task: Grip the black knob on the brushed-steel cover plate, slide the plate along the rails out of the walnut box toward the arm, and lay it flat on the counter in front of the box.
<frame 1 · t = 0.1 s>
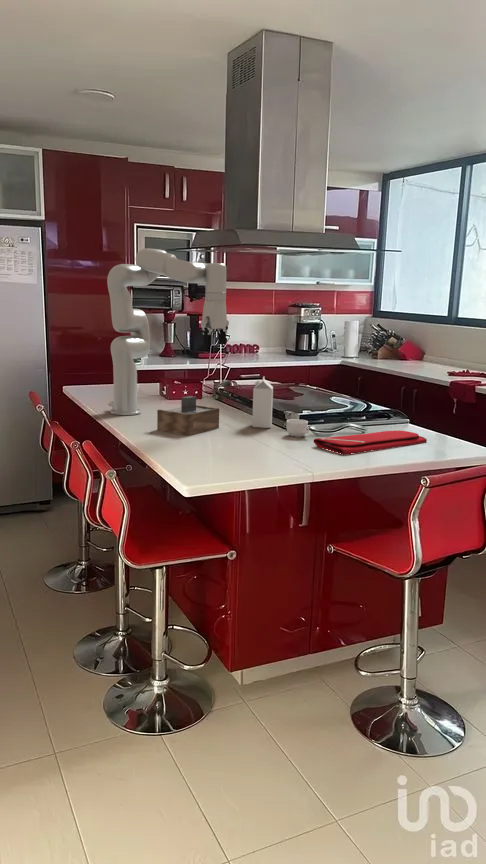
hand: (214, 344, 256), 31 cm above the worktop, tool pointing down, fingers open, 9 cm apart
teacup: (298, 436, 251), on the worktop
walnut box: (188, 428, 258), on the worktop
milk carton: (262, 426, 267), on the worktop
cover plate: (188, 413, 257), point 6 cm above the worktop, touching walnut box
dish drying mat: (371, 446, 241), on the worktop
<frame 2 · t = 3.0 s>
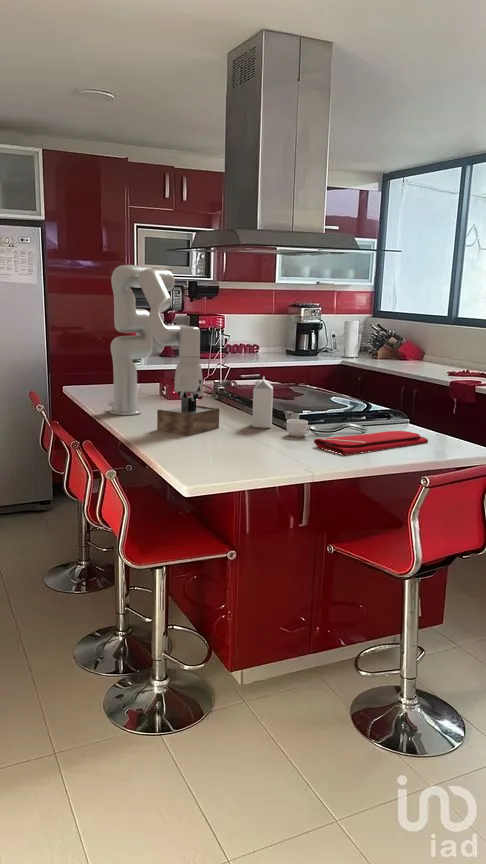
hand: (188, 409, 256), 7 cm above the worktop, tool pointing down, fingers closed on cover plate, 3 cm apart
cover plate: (188, 413, 257), point 6 cm above the worktop, touching gripper
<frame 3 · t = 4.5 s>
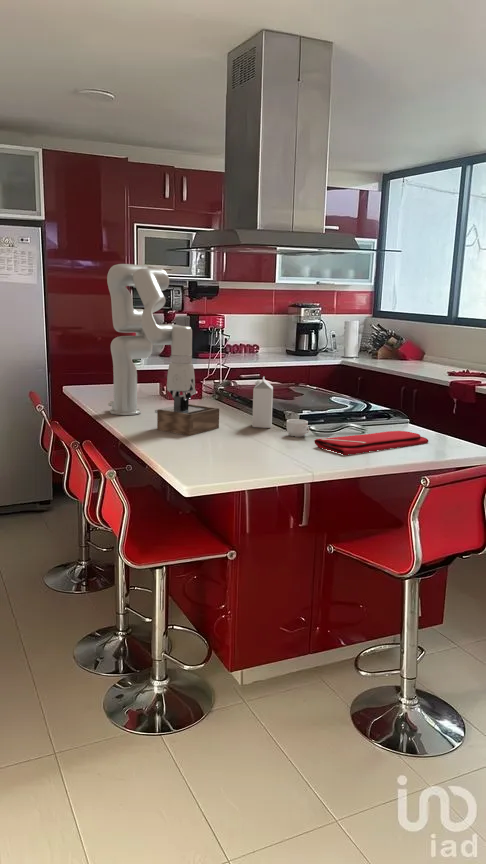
hand: (181, 408, 258), 7 cm above the worktop, tool pointing down, fingers closed on cover plate, 3 cm apart
cover plate: (181, 411, 259), point 6 cm above the worktop, touching gripper
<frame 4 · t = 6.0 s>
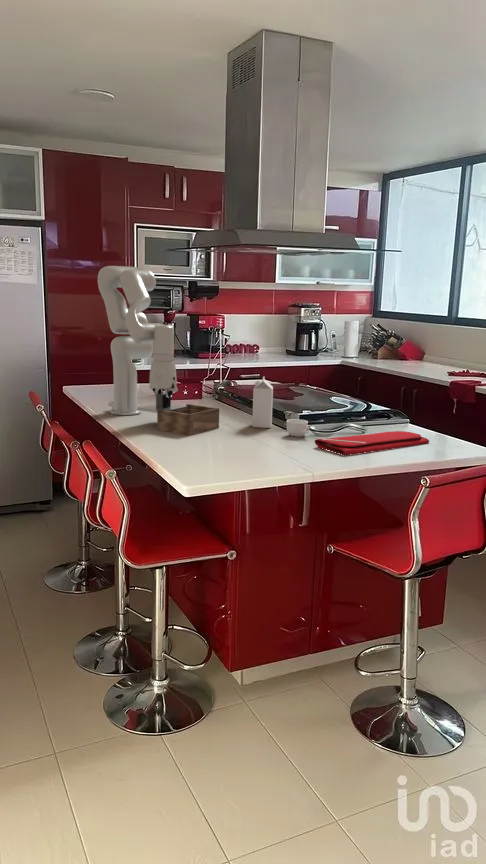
hand: (163, 406, 263), 7 cm above the worktop, tool pointing down, fingers closed on cover plate, 3 cm apart
cover plate: (163, 409, 263), point 6 cm above the worktop, touching gripper
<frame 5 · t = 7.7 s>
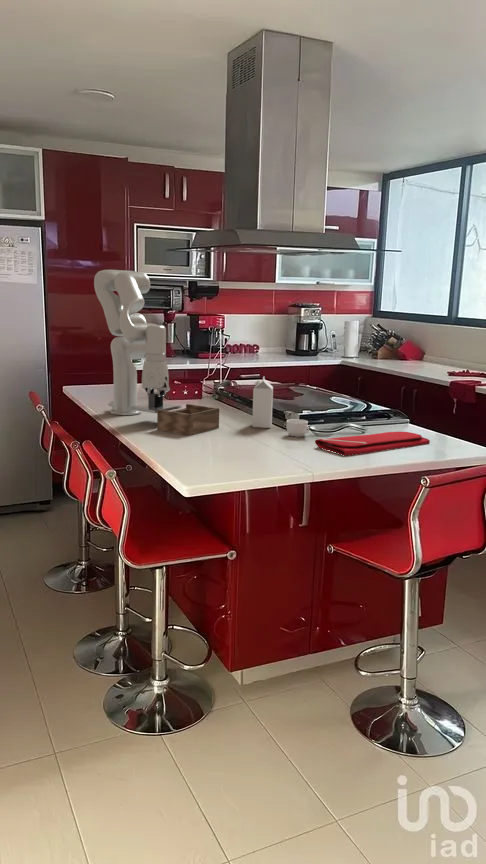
hand: (155, 405, 265), 7 cm above the worktop, tool pointing down, fingers closed on cover plate, 3 cm apart
cover plate: (155, 408, 265), point 6 cm above the worktop, touching gripper
when the fingers open (3 cm above the worktop, at t = 9.1 s): cover plate drops 2 cm, on the worktop.
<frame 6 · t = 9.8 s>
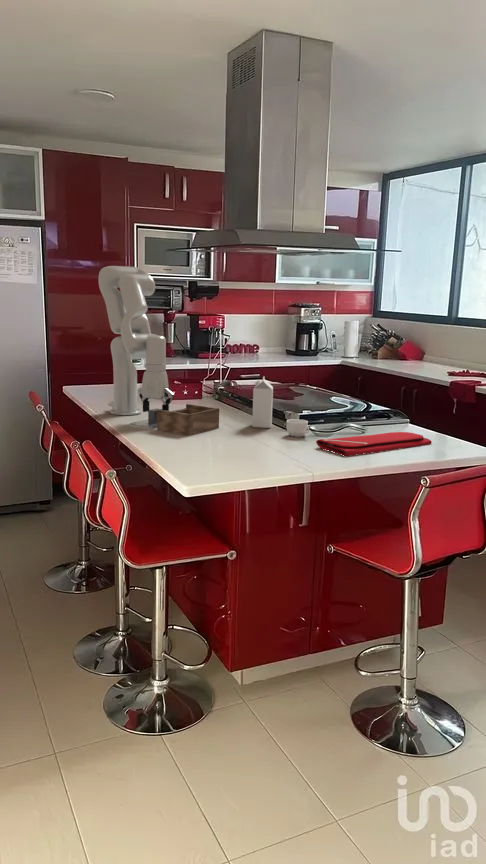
hand: (155, 412, 266), 4 cm above the worktop, tool pointing down, fingers open, 9 cm apart
cover plate: (155, 425, 267), on the worktop
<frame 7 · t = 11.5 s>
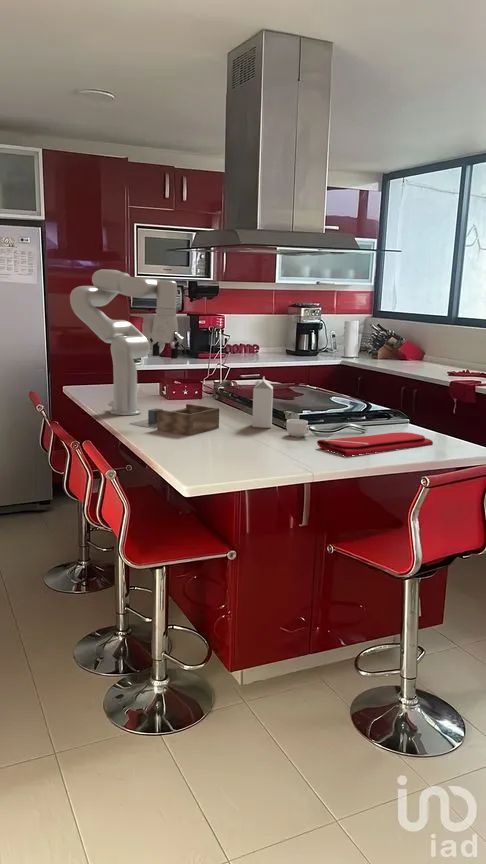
hand: (164, 357, 271), 25 cm above the worktop, tool pointing down, fingers open, 9 cm apart
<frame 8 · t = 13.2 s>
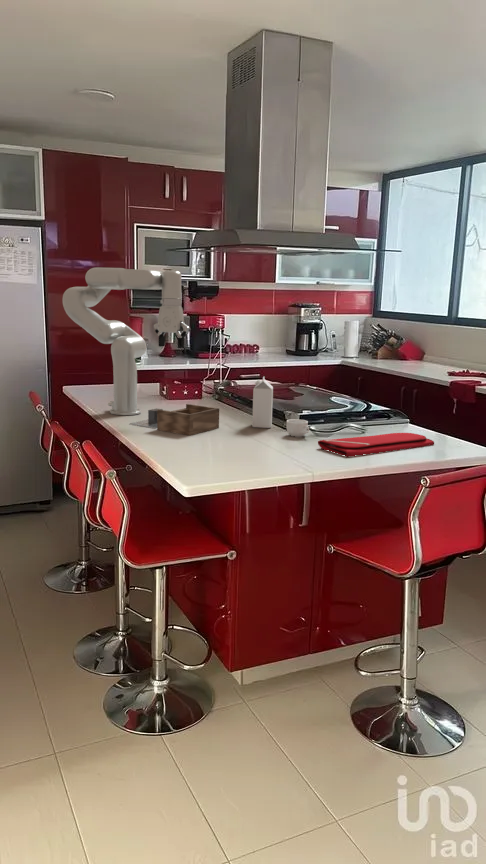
hand: (171, 347, 274), 28 cm above the worktop, tool pointing down, fingers open, 9 cm apart
at the end: cover plate inside the target area (0.6 cm from its centre), on the worktop; cover plate tilted 0°; cover plate touching worktop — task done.
